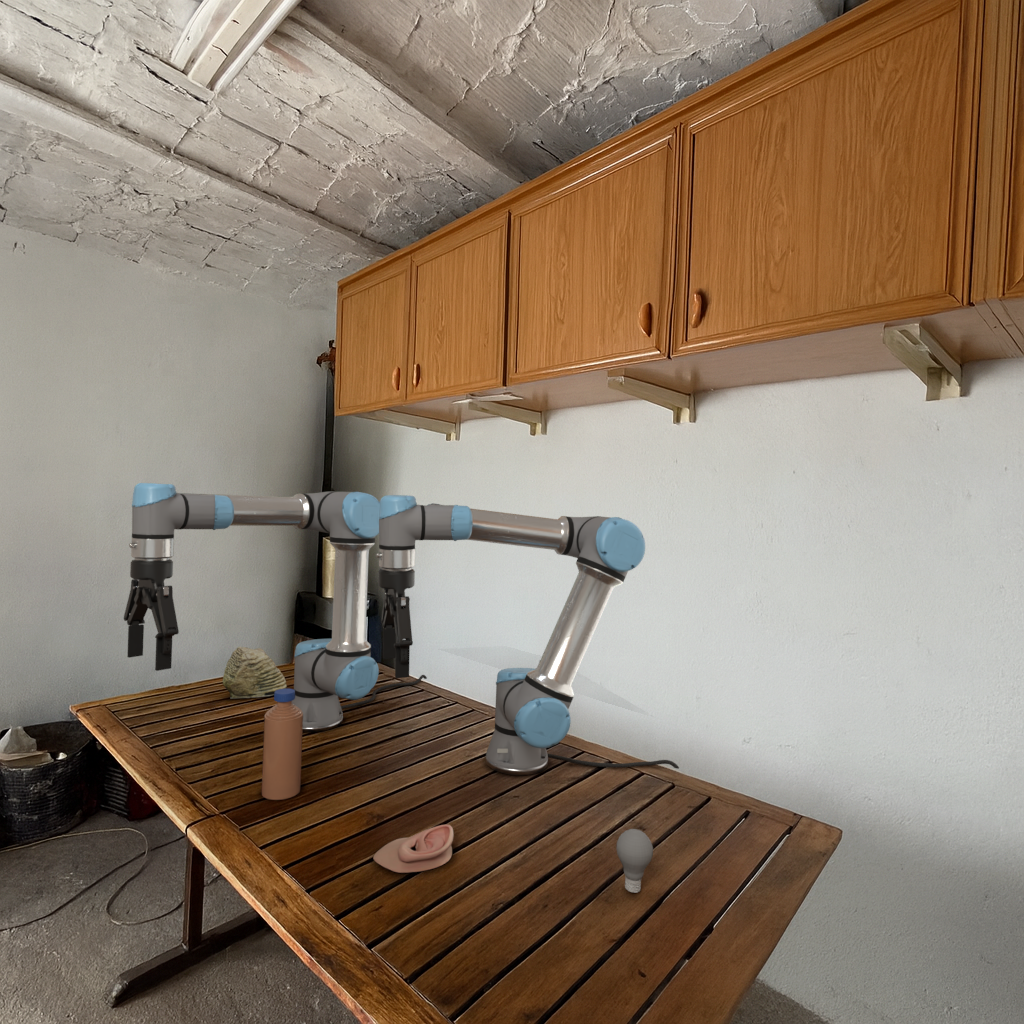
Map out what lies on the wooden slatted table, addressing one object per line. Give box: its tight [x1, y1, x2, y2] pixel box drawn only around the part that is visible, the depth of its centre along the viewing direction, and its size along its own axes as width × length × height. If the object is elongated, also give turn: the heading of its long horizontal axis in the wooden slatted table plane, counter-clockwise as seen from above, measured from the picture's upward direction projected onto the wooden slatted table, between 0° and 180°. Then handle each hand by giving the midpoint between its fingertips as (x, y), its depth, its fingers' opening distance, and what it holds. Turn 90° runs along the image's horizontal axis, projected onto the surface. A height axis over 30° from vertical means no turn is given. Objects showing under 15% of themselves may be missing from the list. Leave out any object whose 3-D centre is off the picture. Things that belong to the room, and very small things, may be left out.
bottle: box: [261, 701, 303, 801], centre depth 135 cm, size 8×8×21 cm
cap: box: [273, 687, 295, 703], centre depth 135 cm, size 4×4×2 cm
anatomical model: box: [372, 824, 455, 874], centre depth 113 cm, size 13×4×12 cm
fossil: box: [222, 646, 288, 699], centre depth 198 cm, size 9×18×15 cm, turn 132°
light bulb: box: [615, 828, 654, 894], centre depth 106 cm, size 6×6×10 cm
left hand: (148, 662), depth 129 cm, fingers open, 13 cm apart
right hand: (395, 667), depth 135 cm, fingers open, 13 cm apart
